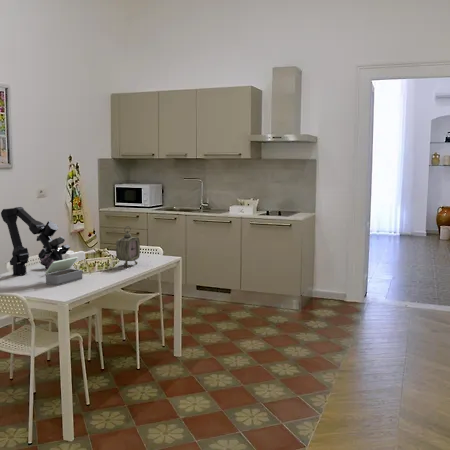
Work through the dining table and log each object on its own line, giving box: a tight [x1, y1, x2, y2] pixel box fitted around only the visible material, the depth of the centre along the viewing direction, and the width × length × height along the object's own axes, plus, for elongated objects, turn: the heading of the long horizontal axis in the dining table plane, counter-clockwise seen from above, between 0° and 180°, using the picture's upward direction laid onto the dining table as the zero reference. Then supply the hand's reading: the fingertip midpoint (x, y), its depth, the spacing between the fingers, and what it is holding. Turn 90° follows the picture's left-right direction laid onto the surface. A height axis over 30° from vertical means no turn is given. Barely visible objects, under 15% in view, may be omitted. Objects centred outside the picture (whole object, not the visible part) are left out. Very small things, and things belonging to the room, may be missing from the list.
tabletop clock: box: [115, 225, 141, 268], centre depth 338 cm, size 14×9×25 cm, turn 158°
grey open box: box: [45, 269, 83, 287], centre depth 296 cm, size 9×18×5 cm, turn 150°
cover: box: [44, 257, 78, 275], centre depth 296 cm, size 9×18×1 cm
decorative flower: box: [39, 254, 55, 270], centre depth 333 cm, size 15×12×15 cm
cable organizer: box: [61, 250, 86, 271], centre depth 323 cm, size 15×11×12 cm
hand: (62, 263), depth 295 cm, fingers closed, pressing on cover
